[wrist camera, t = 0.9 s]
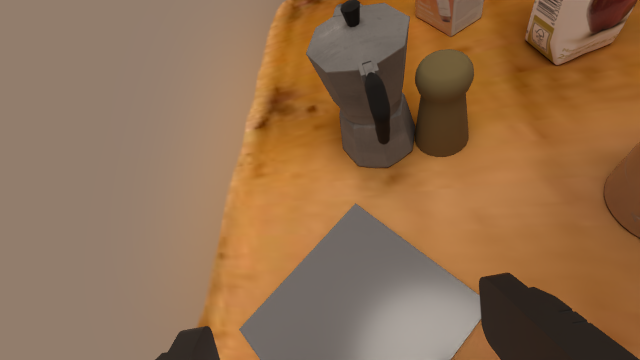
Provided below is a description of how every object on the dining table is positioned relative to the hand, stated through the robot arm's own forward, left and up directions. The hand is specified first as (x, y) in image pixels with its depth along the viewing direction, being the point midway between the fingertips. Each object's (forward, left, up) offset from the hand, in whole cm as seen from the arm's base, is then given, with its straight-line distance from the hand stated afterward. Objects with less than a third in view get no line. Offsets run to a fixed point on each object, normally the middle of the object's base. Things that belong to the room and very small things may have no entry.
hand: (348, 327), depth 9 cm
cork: (-22, -11, -23) cm, 33 cm away
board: (0, -5, -22) cm, 23 cm away
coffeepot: (-17, -16, -22) cm, 32 cm away
